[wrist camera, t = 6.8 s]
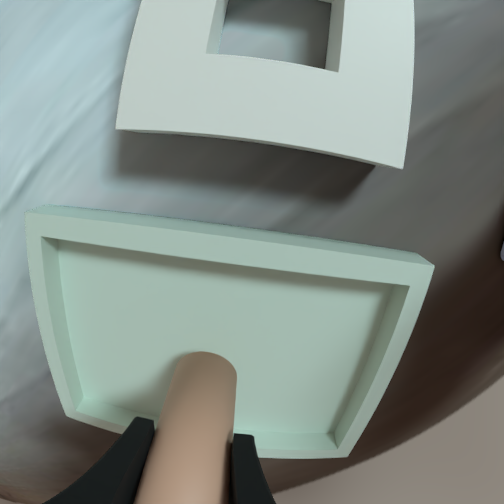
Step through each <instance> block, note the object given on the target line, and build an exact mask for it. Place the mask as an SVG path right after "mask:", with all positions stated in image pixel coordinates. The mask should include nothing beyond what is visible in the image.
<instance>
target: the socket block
mask: <svg viewBox="0 0 504 504" xmlns="http://www.w3.org/2000/svg"><path fill="white" fill-rule="evenodd" d="M228 1H229V0H142V1H141V5H140V8H139V12H138V15H137V19H136V23H135V26H134V30H133V34H132V38H131V43H130V47H129V51H128V56H127V61H126V65H125V71H124V76H123V81H122V87H121V93H120V99H119V105H118V112H117V120H116V127H115V129H118V130H125V131H132V132H139V133H158V134H175V135H189V136H201V137H212V138H222V139H231V140H239V141H247V142H255V143H262V144H269V145H276V146H282V147H288V148H294V149H300V150H306V151H311V152H317V153H322V154H327V155H332V156H337V157H342V158H346V159H351V160H356V161H360V162H364V163H369V164H373V165H377V166H385V167H392V168H399V169H403V164H404V158H405V151H406V144H407V137H408V128H409V120H410V110H411V99H412V86H413V69H414V0H320V1H324V2H329V3H332V5H331V16H330V27H329V37H328V47H327V56H326V65H325V69H320V68H315V67H311V66H306V65H300V64H295V63H289V62H283V61H276V60H270V59H262V58H254V57H245V56H235V55H222V54H218V51H219V45H220V40H221V35H222V30H223V25H224V20H225V15H226V10H227V5H228Z"/></svg>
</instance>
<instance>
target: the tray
mask: <svg viewBox="0 0 504 504" xmlns="http://www.w3.org/2000/svg"><path fill="white" fill-rule="evenodd" d="M25 232H26V245H27V255H28V264H29V272H30V280H31V286H32V293H33V298H34V304H35V309H36V314H37V319H38V324H39V328H40V333H41V337H42V341H43V345H44V349H45V353H46V356H47V360H48V363H49V367H50V370H51V374H52V377H53V380H54V383H55V386H56V389H57V392H58V395H59V398H60V401H61V403H62V406H63V409H64V411H65V414H66V416H67V417H70V418H73V419H75V420H78V421H81V422H84V423H87V424H90V425H93V426H96V427H99V428H102V429H105V430H109V431H112V432H115V433H119V434H123V432H124V431H125V430H126V429H127V427H128V426H129V425H130V423H131V422H132V421H133V419H134V418H135V417H137V416H138V417H143V418H147V419H151V420H154V427H155V430H156V427H157V423H158V420H159V417H160V414H161V411H162V408H163V405H164V402H165V399H166V395H167V392H168V389H169V386H170V383H171V380H172V377H173V374H174V371H175V368H176V365H177V363H178V362H179V360H180V359H181V358H182V357H184V356H185V355H187V354H189V353H193V352H199V351H204V352H211V353H215V354H217V355H220V356H222V357H224V358H225V359H227V360H228V361H229V362H230V363H231V364H232V365H233V367H234V368H235V370H236V373H237V386H236V400H235V414H234V429H233V435H234V433H239V434H250V435H253V436H254V440H255V446H256V450H257V455H258V457H262V458H289V459H312V458H339V457H348V455H349V454H350V452H351V450H352V449H353V447H354V446H355V444H356V442H357V441H358V439H359V437H360V436H361V434H362V432H363V431H364V429H365V427H366V426H367V424H368V422H369V420H370V418H371V417H372V415H373V413H374V411H375V409H376V408H377V406H378V404H379V402H380V400H381V398H382V396H383V394H384V392H385V390H386V388H387V386H388V384H389V382H390V380H391V378H392V376H393V374H394V372H395V370H396V368H397V365H398V363H399V361H400V359H401V356H402V354H403V352H404V350H405V347H406V345H407V343H408V340H409V338H410V335H411V333H412V330H413V328H414V325H415V323H416V320H417V317H418V315H419V312H420V309H421V307H422V304H423V301H424V298H425V295H426V292H427V289H428V286H429V283H430V280H431V277H432V274H433V271H434V267H435V266H434V265H433V264H431V263H430V262H428V261H427V260H426V259H424V258H423V257H421V256H420V255H419V254H417V253H414V252H408V251H402V250H396V249H390V248H383V247H377V246H371V245H365V244H358V243H352V242H345V241H339V240H332V239H325V238H319V237H312V236H305V235H298V234H291V233H284V232H277V231H270V230H262V229H255V228H248V227H240V226H232V225H225V224H217V223H209V222H201V221H193V220H185V219H177V218H168V217H160V216H151V215H143V214H134V213H125V212H115V211H106V210H97V209H87V208H77V207H67V206H56V205H44V206H41V207H38V208H35V209H32V210H29V211H26V212H25Z"/></svg>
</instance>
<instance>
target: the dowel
mask: <svg viewBox="0 0 504 504" xmlns="http://www.w3.org/2000/svg"><path fill="white" fill-rule="evenodd" d="M236 386H237V373H236V370H235V368H234V367H233V365H232V364H231V363H230V362H229V361H228V360H227V359H225V358H224V357H222V356H220V355H217V354H215V353H211V352H204V351H199V352H193V353H189V354H187V355H185V356H184V357H182V358H181V359H180V360H179V362H178V363H177V365H176V368H175V371H174V374H173V377H172V380H171V383H170V386H169V389H168V392H167V395H166V399H165V402H164V405H163V408H162V411H161V414H160V417H159V420H158V423H157V427H156V430H155V433H154V436H153V439H152V443H151V446H150V449H149V452H148V456H147V459H146V462H145V466H144V469H143V472H142V476H141V479H140V482H139V486H138V489H137V493H136V496H135V500H134V503H133V504H228V502H229V487H230V464H231V450H232V440H233V429H234V414H235V400H236Z"/></svg>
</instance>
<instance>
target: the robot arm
mask: <svg viewBox="0 0 504 504" xmlns="http://www.w3.org/2000/svg"><path fill="white" fill-rule="evenodd" d="M501 259H502V260H503V261H504V243H503V246H502V250H501ZM154 433H155V427H154V420H151V419H147V418H143V417H138V416H137V417H135V418H134V419H133V421H132V422H131V423H130V425H129V426H128V427H127V429H126V430H125V431H124V432H123V434H122V435H121V436H120V437H119V439H118V440H117V441H116V442H115V443H114V444H113V446H112V447H111V448H110V449H109V450H108V451H107V452H106V453H105V454H104V455H103V457H102V458H101V459H100V460H99V461H98V462H97V463H96V464H94V465H93V466H92V467H91V468H90V469H89V470H88V471H87V472H86V473H85V474H84V475H83V476H81V477H80V478H79V479H78V480H77V481H75V482H74V483H73V484H72V485H70V486H69V487H68V488H66V489H65V490H63V491H62V492H60V493H59V494H57V495H56V496H54V497H53V498H51V499H50V500H48V501H46V502H44V503H43V504H133V503H134V500H135V496H136V493H137V489H138V486H139V482H140V479H141V476H142V472H143V469H144V466H145V462H146V459H147V456H148V452H149V449H150V446H151V443H152V439H153V436H154ZM228 504H276V503H275V501H274V499H273V496H272V494H271V492H270V489H269V487H268V484H267V482H266V479H265V477H264V474H263V471H262V468H261V465H260V462H259V458H258V455H257V450H256V446H255V440H254V436H253V435H250V434H239V433H234V435H233V440H232V450H231V464H230V487H229V502H228Z"/></svg>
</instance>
